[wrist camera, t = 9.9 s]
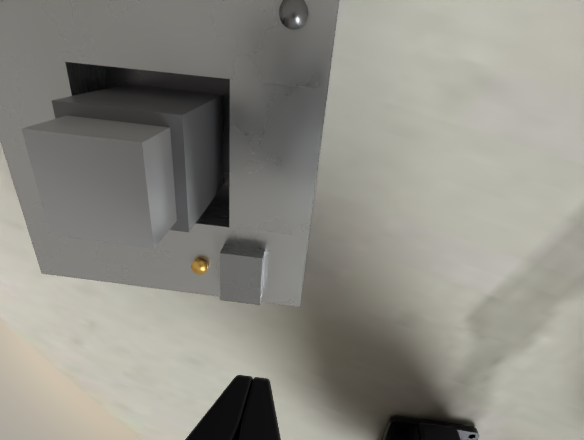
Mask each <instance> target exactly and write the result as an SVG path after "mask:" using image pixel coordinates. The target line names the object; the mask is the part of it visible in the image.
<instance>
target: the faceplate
mask: <svg viewBox="0 0 584 440" xmlns="http://www.w3.org/2000/svg"><path fill="white" fill-rule="evenodd" d="M338 6H339V0H0V141H1V144H2V147H3V151H4V154H5V157H6V160H7V163H8V167H9V170H10V173H11V176H12V179H13V183H14V186H15V189H16V192H17V196H18V199H19V202H20V205H21V208H22V212H23V215H24V218H25V221H26V225H27V228H28V231H29V234H30V237H31V241H32V244H33V247H34V250H35V254H36V257H37V260H38V263H39V266H40V270H41V273H42V274H50V275H58V276H65V277H73V278H81V279H88V280H96V281H104V282H111V283H119V284H127V285H135V286H142V287H150V288H158V289H165V290H173V291H181V292H188V293H196V294H204V295H211V296H219V297H220V300H225V301H232V302H240V303H248V304H255V305H260V302H265V303H273V304H281V305H288V306H296V307H300V303H301V295H302V287H303V279H304V271H305V263H306V256H307V248H308V240H309V232H310V224H311V217H312V209H313V201H314V193H315V185H316V178H317V170H318V162H319V154H320V146H321V139H322V131H323V123H324V115H325V107H326V100H327V92H328V84H329V76H330V68H331V61H332V53H333V45H334V37H335V29H336V22H337V14H338ZM126 84H131V85H140V86H149V87H158V88H167V89H176V90H185V91H194V92H203V93H212V94H221V95H223V186H222V188H221V189H220V190H219V192H218V193H217V194H216V196H215V197H214V199H213V200H212V201H211V203H210V204H209V205H208V207H207V208H206V210H205V211H204V212H203V214H202V215H201V216H200V218H199V219H198V221H197V222H196V223H195V225H194V226H193V228H192V229H191V230H190V232H181V231H173V230H169V231H168V232H167V233H166V235H165V236H164V237H163V238H162V239H161V241H160V242H159V243H158V244H157V245H156V247H155V248H146V247H139V246H131V245H123V244H115V243H108V242H100V241H92V240H85V239H77V238H69V237H61V236H54V235H50V232H49V229H48V225H47V221H46V218H45V214H44V210H43V207H42V203H41V199H40V196H39V192H38V188H37V185H36V181H35V177H34V174H33V170H32V166H31V163H30V159H29V155H28V152H27V148H26V144H25V141H24V137H23V133H22V130H21V128H25V127H28V126H32V125H35V124H39V123H42V122H46V121H50V120H53V119H55V114H54V110H53V105H52V101H51V100H55V99H60V98H65V97H69V96H74V95H79V94H84V93H88V92H93V91H98V90H102V89H107V88H112V87H116V86H121V85H126Z"/></svg>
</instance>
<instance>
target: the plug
mask: <svg viewBox="0 0 584 440" xmlns="http://www.w3.org/2000/svg"><path fill="white" fill-rule="evenodd" d="M51 101H52V105H53V110H54V114H55V119H53V120H50V121H46V122H42V123H39V124H35V125H32V126H28V127H25V128H21V130H22V133H23V137H24V141H25V144H26V148H27V152H28V155H29V159H30V163H31V166H32V170H33V174H34V177H35V181H36V185H37V188H38V192H39V196H40V199H41V203H42V207H43V210H44V214H45V218H46V221H47V225H48V229H49V232H50V235H54V236H61V237H69V238H77V239H85V240H92V241H100V242H108V243H115V244H123V245H131V246H139V247H146V248H155V247H156V245H157V244H158V243H159V242H160V241H161V239H162V238H163V237H164V236H165V235H166V233H167V232H168V231H169V230H173V231H181V232H190V230H191V229H192V228H193V226H194V225H195V223H196V222H197V221H198V219H199V218H200V216H201V215H202V214H203V212H204V211H205V210H206V208H207V207H208V205H209V204H210V203H211V201H212V200H213V199H214V197H215V196H216V194H217V193H218V192H219V190H220V189H221V188H222V186H223V95H221V94H212V93H203V92H194V91H185V90H176V89H167V88H158V87H149V86H140V85H131V84H126V85H121V86H116V87H112V88H107V89H102V90H98V91H93V92H88V93H84V94H79V95H74V96H69V97H65V98H60V99H55V100H51Z"/></svg>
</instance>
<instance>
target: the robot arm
mask: <svg viewBox="0 0 584 440" xmlns="http://www.w3.org/2000/svg"><path fill="white" fill-rule="evenodd" d="M478 438H479V434H478V431H477V429H476V428H474V427H469V426H462V425H455V424H448V423H441V422H434V421H426V420H419V419H412V418H405V417H398V416H394V417H391V418H390V419H389V421H388V424H387V427H386V430H385V432H384V435H383V438H382V440H478ZM185 440H281V439H280V433H279V428H278V423H277V417H276V412H275V406H274V401H273V395H272V390H271V385H270V381H269V379H266V378H258V377H255V378H254V379H253V378H252V377H251V376H244V375H237V376H236V377H235V378H234V379H233V380H232V382H231V383H230V384H229V385H228V387H227V388H226V389H225V390H224V392H223V393H222V394H221V396H220V397H219V398H218V399H217V401H216V402H215V403H214V404H213V406H212V407H211V408H210V409H209V411H208V412H207V413H206V414H205V416H204V417H203V418H202V419H201V421H200V422H199V423H198V424H197V426H196V427H195V428H194V429H193V431H192V432H191V433H190V434H189V436H188V437H187V438H186V439H185Z"/></svg>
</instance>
